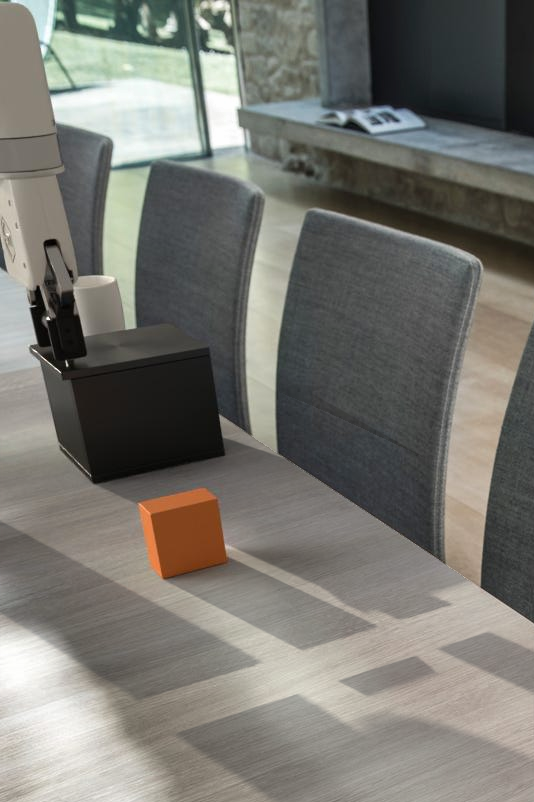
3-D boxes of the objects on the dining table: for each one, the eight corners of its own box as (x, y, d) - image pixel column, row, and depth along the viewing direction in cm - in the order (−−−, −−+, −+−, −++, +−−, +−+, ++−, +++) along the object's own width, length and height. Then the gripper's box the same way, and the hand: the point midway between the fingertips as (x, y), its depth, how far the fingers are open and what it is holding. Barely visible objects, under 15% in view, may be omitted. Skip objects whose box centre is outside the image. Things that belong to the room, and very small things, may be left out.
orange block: (162, 579, 100) (150, 514, 97) (150, 566, 102) (137, 502, 99) (227, 562, 102) (217, 498, 99) (214, 549, 105) (204, 487, 101)
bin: (93, 483, 119) (70, 379, 114) (60, 450, 128) (37, 352, 123) (225, 455, 126) (210, 355, 120) (185, 424, 135) (169, 330, 129)
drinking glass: (111, 398, 144) (86, 273, 136) (152, 405, 141) (129, 277, 133) (71, 414, 139) (43, 285, 131) (114, 421, 136) (88, 290, 128)
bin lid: (62, 380, 113) (51, 331, 111) (29, 352, 122) (19, 306, 120) (210, 354, 120) (203, 307, 117) (169, 330, 129) (162, 285, 126)
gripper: (-41, 151, 113) (5, 340, 122) (0, 170, 100) (47, 377, 110) (37, 145, 116) (75, 328, 126) (86, 162, 104) (124, 364, 113)
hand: (62, 349), depth 118 cm, fingers closed on bin lid, 5 cm apart
